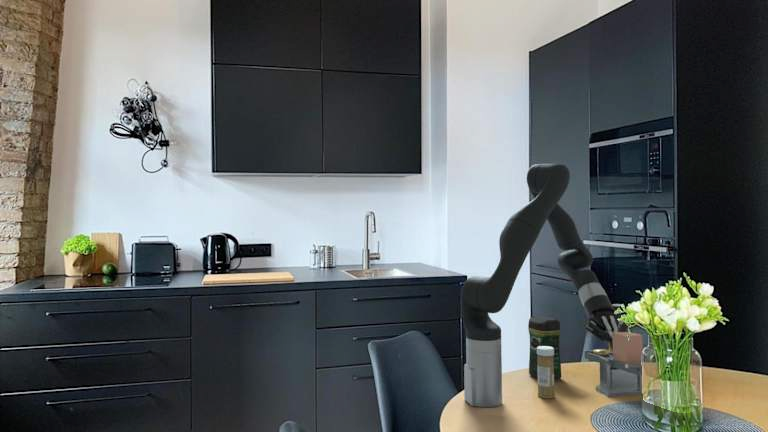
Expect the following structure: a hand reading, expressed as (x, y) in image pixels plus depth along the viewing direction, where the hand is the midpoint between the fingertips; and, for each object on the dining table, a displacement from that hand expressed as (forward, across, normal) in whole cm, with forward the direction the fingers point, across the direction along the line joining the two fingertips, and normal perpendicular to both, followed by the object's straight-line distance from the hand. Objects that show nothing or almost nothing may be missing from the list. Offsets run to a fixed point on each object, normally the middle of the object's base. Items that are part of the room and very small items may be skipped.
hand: (619, 351), depth 157 cm
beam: (+3, 0, +2) cm, 3 cm away
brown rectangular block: (+4, 0, -1) cm, 4 cm away
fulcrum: (+8, 0, +8) cm, 11 cm away
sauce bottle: (-10, +16, +26) cm, 32 cm away
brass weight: (-4, 0, +9) cm, 10 cm away
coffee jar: (-4, -14, +21) cm, 25 cm away
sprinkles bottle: (+8, -22, +8) cm, 25 cm away
